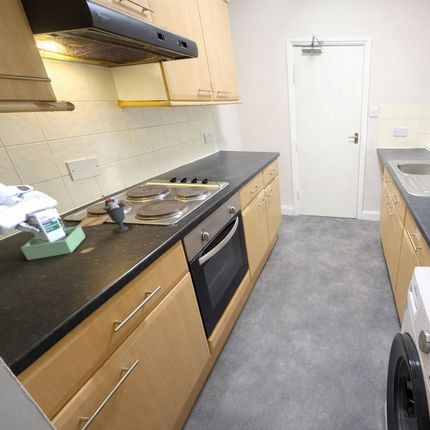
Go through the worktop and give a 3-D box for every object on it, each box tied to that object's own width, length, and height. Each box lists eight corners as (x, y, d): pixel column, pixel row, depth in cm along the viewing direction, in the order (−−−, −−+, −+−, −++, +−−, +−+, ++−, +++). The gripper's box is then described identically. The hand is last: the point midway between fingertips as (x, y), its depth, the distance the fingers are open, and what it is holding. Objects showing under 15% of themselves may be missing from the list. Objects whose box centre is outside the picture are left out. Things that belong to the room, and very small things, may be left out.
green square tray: (28, 261, 85) (20, 247, 83) (47, 243, 94) (40, 231, 92) (71, 253, 88) (65, 240, 86) (86, 237, 98) (80, 225, 96)
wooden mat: (75, 228, 105) (74, 227, 105) (84, 219, 112) (84, 218, 112) (102, 224, 108) (101, 224, 107) (109, 216, 115) (109, 215, 115)
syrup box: (56, 254, 88) (35, 214, 82) (43, 252, 89) (21, 213, 83) (74, 245, 93) (55, 207, 87) (61, 243, 94) (42, 206, 88)
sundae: (108, 233, 101) (93, 196, 95) (125, 225, 107) (111, 190, 100) (120, 235, 99) (105, 198, 93) (137, 227, 105) (124, 192, 98)
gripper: (-31, 206, 72) (26, 234, 78) (32, 183, 91) (75, 207, 96) (-40, 222, 74) (17, 249, 79) (24, 196, 92) (67, 219, 97)
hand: (49, 226), depth 88 cm, fingers closed on syrup box, 7 cm apart
